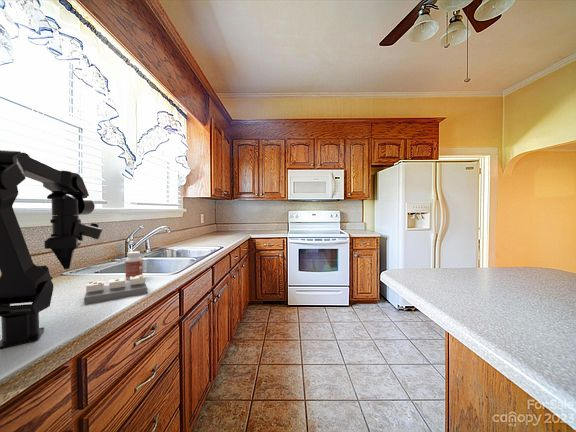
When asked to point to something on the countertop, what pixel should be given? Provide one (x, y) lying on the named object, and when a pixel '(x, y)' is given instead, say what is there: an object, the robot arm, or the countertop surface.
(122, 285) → the one-dot button
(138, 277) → the two-dot button
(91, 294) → the button panel
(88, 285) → the three-dot button
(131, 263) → the pill bottle
